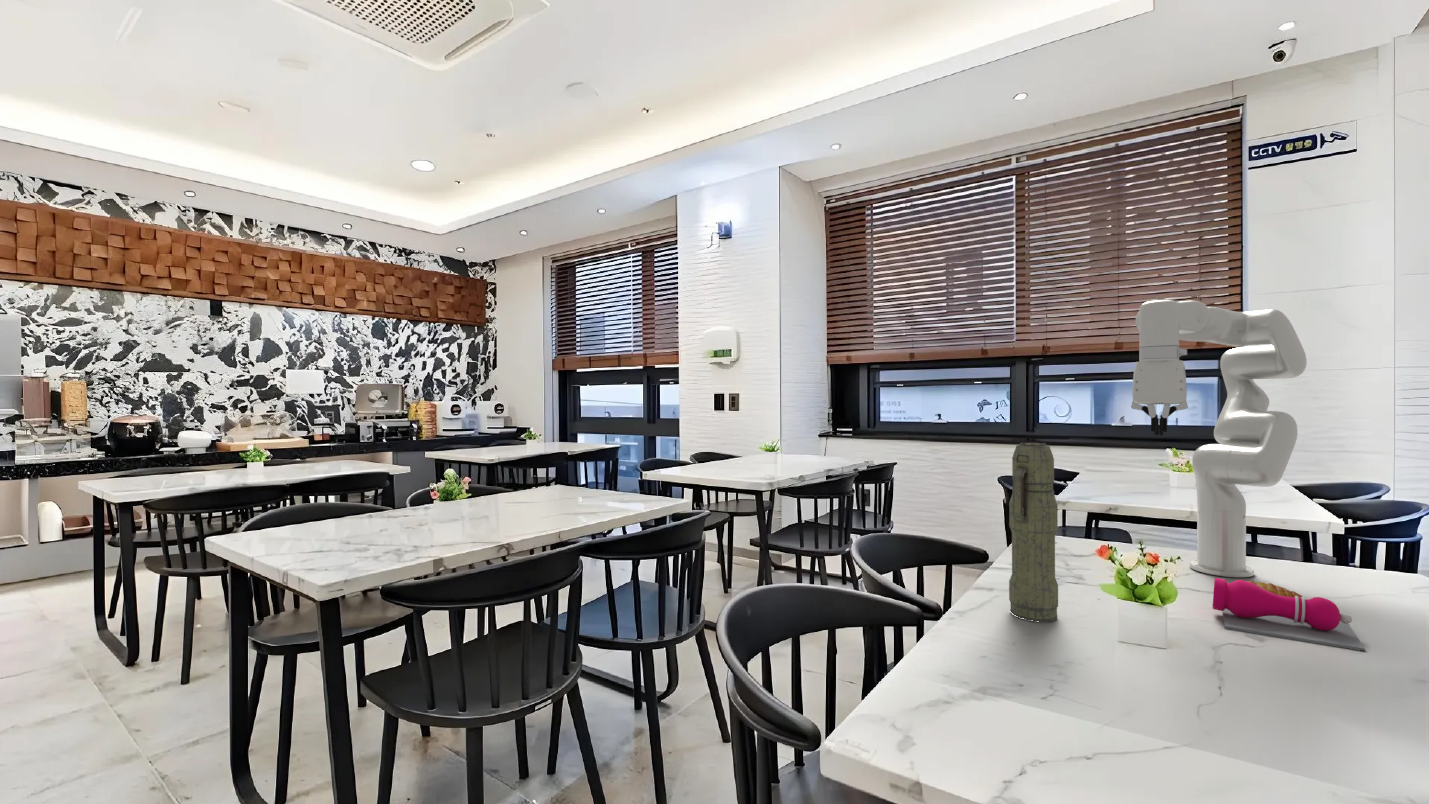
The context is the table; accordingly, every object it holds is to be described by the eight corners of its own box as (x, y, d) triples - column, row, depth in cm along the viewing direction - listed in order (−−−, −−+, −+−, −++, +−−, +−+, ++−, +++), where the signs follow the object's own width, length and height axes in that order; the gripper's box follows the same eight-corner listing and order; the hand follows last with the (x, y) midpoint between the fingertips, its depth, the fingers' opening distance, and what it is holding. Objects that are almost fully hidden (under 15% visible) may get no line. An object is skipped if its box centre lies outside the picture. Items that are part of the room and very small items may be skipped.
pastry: (1301, 602, 137) (1301, 584, 137) (1305, 611, 132) (1305, 592, 132) (1244, 593, 143) (1244, 576, 143) (1246, 602, 138) (1246, 584, 138)
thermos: (998, 616, 130) (997, 444, 129) (1023, 603, 138) (1023, 440, 137) (1044, 628, 123) (1043, 446, 123) (1067, 613, 131) (1067, 442, 131)
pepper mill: (1214, 576, 133) (1349, 600, 120) (1212, 612, 132) (1348, 640, 119) (1214, 573, 127) (1356, 598, 115) (1212, 610, 126) (1354, 640, 114)
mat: (1221, 606, 134) (1221, 604, 134) (1347, 625, 123) (1347, 622, 123) (1224, 628, 122) (1224, 625, 122) (1365, 651, 111) (1365, 648, 111)
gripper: (1199, 354, 145) (1199, 435, 146) (1121, 357, 154) (1121, 433, 154) (1200, 352, 139) (1200, 437, 140) (1119, 355, 148) (1119, 435, 148)
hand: (1159, 434), depth 147 cm, fingers closed
